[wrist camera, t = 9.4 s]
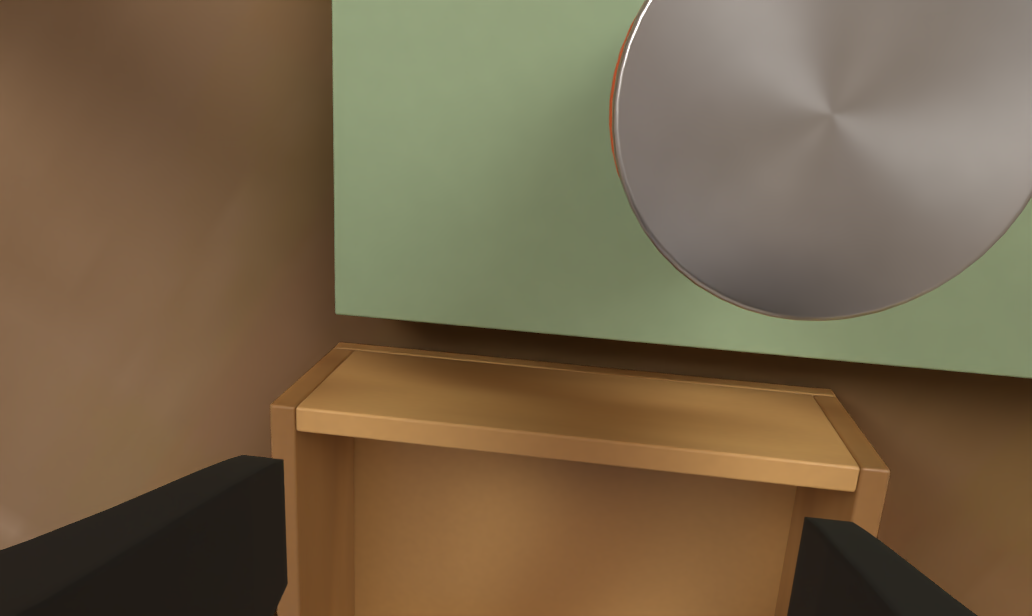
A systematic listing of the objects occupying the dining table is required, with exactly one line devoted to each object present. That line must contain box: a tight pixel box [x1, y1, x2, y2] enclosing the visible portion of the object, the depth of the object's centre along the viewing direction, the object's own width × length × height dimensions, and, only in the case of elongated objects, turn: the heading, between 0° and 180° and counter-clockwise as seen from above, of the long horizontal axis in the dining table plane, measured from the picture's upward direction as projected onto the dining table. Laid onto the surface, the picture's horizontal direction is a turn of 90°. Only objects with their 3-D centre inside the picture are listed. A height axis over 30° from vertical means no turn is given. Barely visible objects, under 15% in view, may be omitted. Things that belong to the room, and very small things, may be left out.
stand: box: [332, 0, 1032, 379], centre depth 17 cm, size 20×11×2 cm, turn 87°
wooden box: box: [270, 342, 890, 616], centre depth 20 cm, size 13×11×4 cm
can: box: [609, 0, 1032, 321], centre depth 13 cm, size 5×5×8 cm
